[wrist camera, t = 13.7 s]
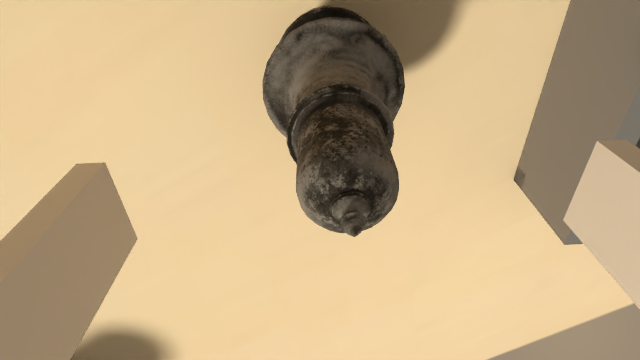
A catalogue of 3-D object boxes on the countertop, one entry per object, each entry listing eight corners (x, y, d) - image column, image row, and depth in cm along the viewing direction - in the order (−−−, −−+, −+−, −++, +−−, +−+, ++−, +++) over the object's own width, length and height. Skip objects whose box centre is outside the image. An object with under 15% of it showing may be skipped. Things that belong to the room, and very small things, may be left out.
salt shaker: (391, -7, 17) (511, 104, 7) (388, 114, 20) (464, 305, 10) (259, 6, 17) (192, 132, 7) (278, 124, 20) (251, 320, 10)
